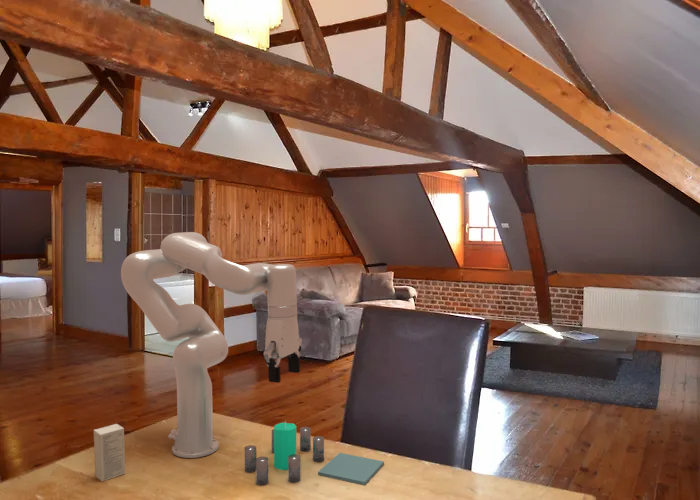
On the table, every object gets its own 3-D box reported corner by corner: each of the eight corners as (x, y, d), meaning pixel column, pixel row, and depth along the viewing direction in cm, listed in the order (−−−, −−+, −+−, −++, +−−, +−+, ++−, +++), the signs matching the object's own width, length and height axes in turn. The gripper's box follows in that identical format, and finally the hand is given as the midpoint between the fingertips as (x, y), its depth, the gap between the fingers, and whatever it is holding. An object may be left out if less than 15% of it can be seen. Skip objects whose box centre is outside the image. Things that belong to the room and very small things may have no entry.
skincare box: (118, 468, 151) (117, 423, 150) (126, 474, 147) (125, 427, 147) (93, 476, 146) (92, 429, 145) (100, 482, 143) (99, 434, 142)
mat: (317, 475, 148) (317, 471, 148) (339, 455, 159) (339, 452, 159) (364, 485, 142) (364, 482, 142) (383, 464, 154) (384, 461, 154)
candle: (292, 471, 150) (292, 425, 149) (270, 468, 151) (270, 423, 150) (299, 461, 156) (299, 417, 155) (278, 459, 157) (278, 415, 156)
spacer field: (231, 478, 145) (231, 455, 145) (283, 442, 168) (283, 422, 168) (287, 491, 139) (287, 467, 138) (333, 452, 161) (333, 431, 161)
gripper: (287, 306, 160) (289, 367, 161) (251, 316, 144) (253, 384, 145) (311, 307, 157) (313, 370, 158) (277, 318, 141) (279, 387, 142)
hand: (284, 376), depth 151 cm, fingers open, 9 cm apart
